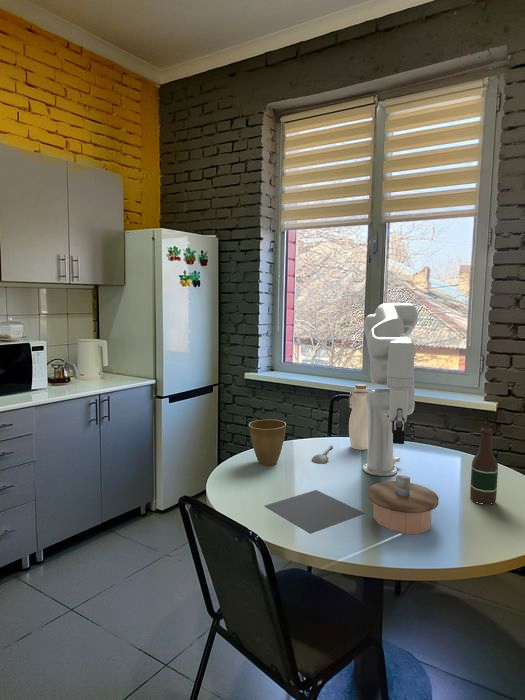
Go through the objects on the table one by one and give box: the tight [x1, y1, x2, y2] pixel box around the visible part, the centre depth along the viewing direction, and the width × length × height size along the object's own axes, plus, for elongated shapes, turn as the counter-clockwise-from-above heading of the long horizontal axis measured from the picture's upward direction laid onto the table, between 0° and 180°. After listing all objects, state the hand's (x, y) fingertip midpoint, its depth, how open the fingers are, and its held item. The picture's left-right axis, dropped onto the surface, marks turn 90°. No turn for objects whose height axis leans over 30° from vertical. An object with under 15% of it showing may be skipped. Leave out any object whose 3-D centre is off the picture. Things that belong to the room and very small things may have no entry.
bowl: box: [372, 503, 433, 535], centre depth 142 cm, size 16×16×7 cm
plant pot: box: [248, 419, 287, 467], centre depth 192 cm, size 15×15×16 cm
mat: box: [264, 489, 366, 535], centre depth 148 cm, size 22×22×1 cm
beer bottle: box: [469, 427, 499, 504], centre depth 156 cm, size 8×8×24 cm
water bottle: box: [348, 383, 371, 451], centre depth 211 cm, size 10×9×28 cm
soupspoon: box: [311, 445, 334, 465], centre depth 201 cm, size 22×3×7 cm
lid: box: [367, 474, 440, 513], centre depth 141 cm, size 20×20×6 cm
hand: (397, 438), depth 144 cm, fingers open, 9 cm apart
